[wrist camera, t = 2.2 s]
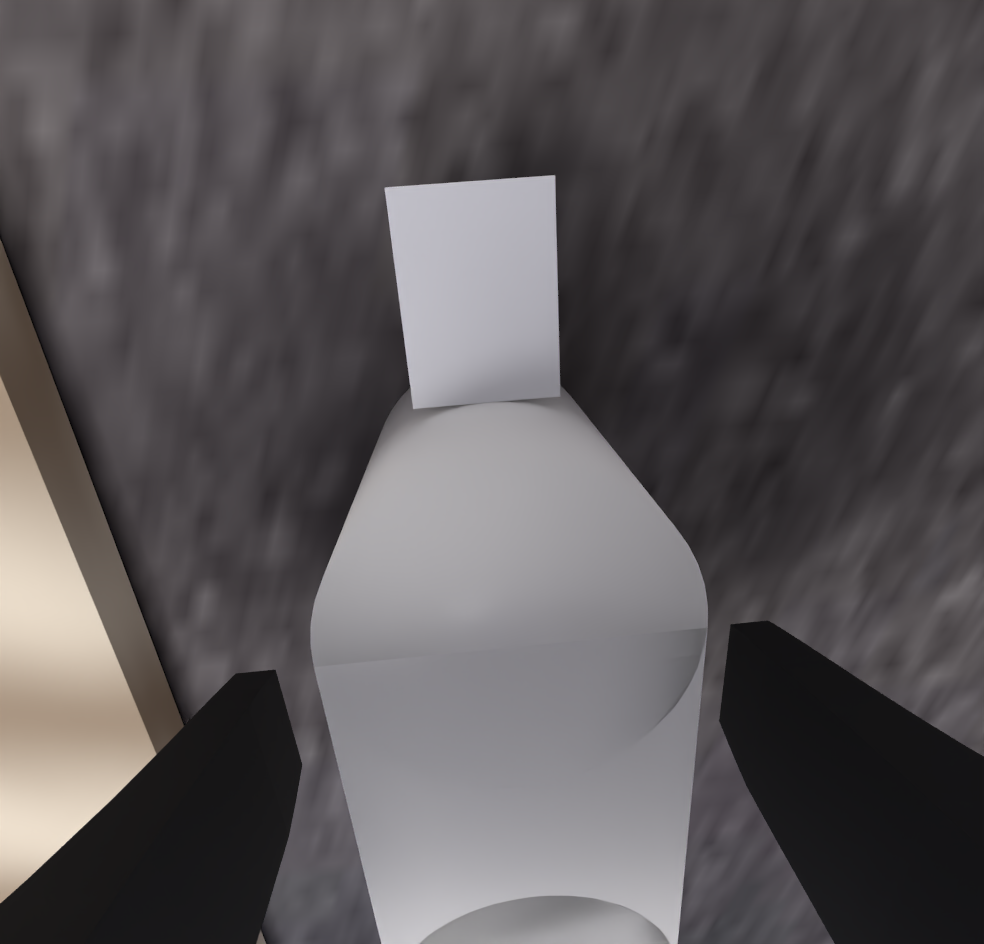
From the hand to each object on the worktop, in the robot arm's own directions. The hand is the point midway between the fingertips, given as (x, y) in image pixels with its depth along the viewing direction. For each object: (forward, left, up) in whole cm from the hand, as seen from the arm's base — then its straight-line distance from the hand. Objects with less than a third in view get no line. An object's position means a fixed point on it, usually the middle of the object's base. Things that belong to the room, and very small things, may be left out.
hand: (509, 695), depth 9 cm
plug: (+1, 0, -3) cm, 3 cm away
